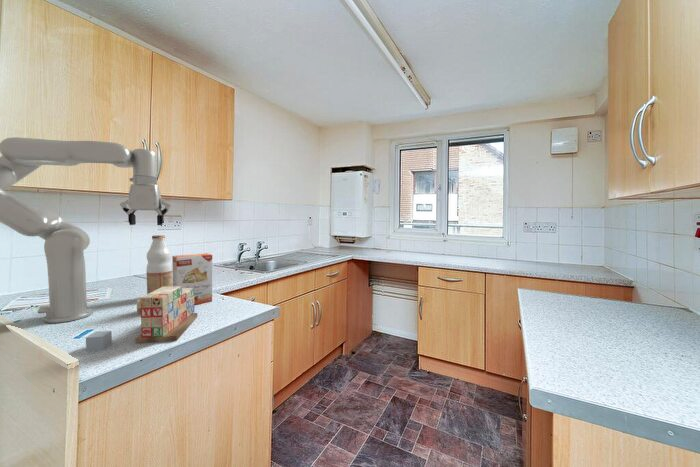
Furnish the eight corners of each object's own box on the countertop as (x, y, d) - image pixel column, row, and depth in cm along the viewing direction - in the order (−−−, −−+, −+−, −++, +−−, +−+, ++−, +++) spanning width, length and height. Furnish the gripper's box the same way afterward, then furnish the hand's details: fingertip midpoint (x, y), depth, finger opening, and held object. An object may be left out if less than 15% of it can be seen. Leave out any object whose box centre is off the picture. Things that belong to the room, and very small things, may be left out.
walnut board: (135, 343, 83) (135, 338, 83) (164, 318, 102) (164, 314, 102) (176, 340, 85) (176, 335, 85) (197, 316, 105) (197, 312, 105)
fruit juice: (146, 301, 121) (144, 236, 119) (148, 296, 129) (146, 235, 127) (172, 298, 126) (170, 236, 124) (172, 293, 134) (171, 234, 132)
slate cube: (86, 351, 78) (85, 337, 78) (95, 345, 82) (95, 331, 81) (103, 350, 79) (102, 336, 78) (111, 344, 83) (111, 330, 82)
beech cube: (137, 315, 105) (136, 302, 104) (138, 311, 109) (137, 299, 109) (153, 313, 108) (153, 300, 107) (153, 309, 112) (153, 297, 111)
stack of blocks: (177, 312, 105) (176, 279, 104) (194, 312, 105) (194, 279, 105) (140, 337, 84) (139, 296, 83) (163, 337, 84) (162, 296, 83)
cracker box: (177, 308, 113) (176, 257, 111) (172, 305, 117) (171, 255, 115) (213, 301, 123) (212, 254, 122) (207, 298, 127) (207, 252, 126)
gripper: (114, 179, 106) (115, 225, 107) (165, 181, 109) (166, 225, 111) (125, 181, 113) (126, 224, 114) (173, 183, 117) (174, 224, 118)
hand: (146, 224), depth 112 cm, fingers open, 9 cm apart
